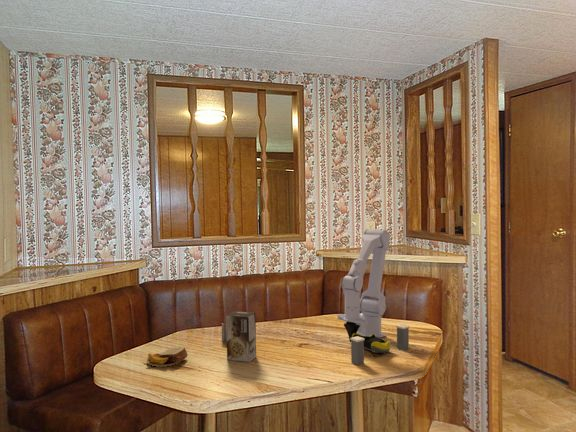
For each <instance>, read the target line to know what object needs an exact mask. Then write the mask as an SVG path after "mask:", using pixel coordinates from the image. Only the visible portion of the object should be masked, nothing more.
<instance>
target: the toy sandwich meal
mask: <svg viewBox="0 0 576 432" xmlns="http://www.w3.org/2000/svg"><path fill="white" fill-rule="evenodd" d="M147 355H148V357H147V360H146V363H147V364H148V365H149V366H150V365H152V366H151V367H153V366H156V367H155V368H168V367H167V366H170V367H173V366H172V365H174V366H176V365H175V364H177V365H178V363H179V364H180V363H181V362H182V361H183V360H185V359H186V358H187V357H188V352H187V349H186V347H185V346H182V347H170V348H168V349H166V350H165V351H163V352H160V353H155V354H154V353H153V354H151V353H148V354H147Z"/></svg>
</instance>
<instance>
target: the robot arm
mask: <svg viewBox="0 0 576 432" xmlns="http://www.w3.org/2000/svg"><path fill="white" fill-rule="evenodd" d="M361 238H362V245H361V248H360V252H359V255H358V257H357V258H356V259H354V260H353V262H352V264H351V267H350V269H349V271H348V273H347V275H345V276H343V277H342V280H341V284H340V285H341V288H342V290H343V291H342V293H343V295H344V314H343V313H340V314H339V313H338V314H337V320H339V321H343V322H345V323H343V327H344V328H345V330H346V332H347V335H348V340H349V343H351V340H350V338H352V334H353V333H358V334H361V335H364V336H370V335H373V334H374V335H376V337H378V338H380V339H381V338H382V337H383V338H384V337H386V335H387V334H385V333H382V315H384V314H385V311H386V310H387V304H386V299H387V297H386V296H385V295H384V294H383V293H382V292H381V288H382V281H383V275H384V274H383V273H384V269H385V268H384V267H385V259H386V253H387V252H388V251H389V247H390V242H391V236H390V233H389V231H388V230H387V229H369V228H366V229H365V230H364V231H363V233H362V237H361ZM371 255H372V259H371V266H370V272H369V278H368V285H367V289H366V290H364V291H363V292H362V293H360V292H361V290H362V288H363V286H364V285H363V284H364V283H363V282H364V275H365V272H366V271H367V269H368V263H367V261H369V258H370V256H371ZM360 294H361V295H360ZM360 296H361V297H360ZM360 312H361V313H360Z"/></svg>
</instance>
